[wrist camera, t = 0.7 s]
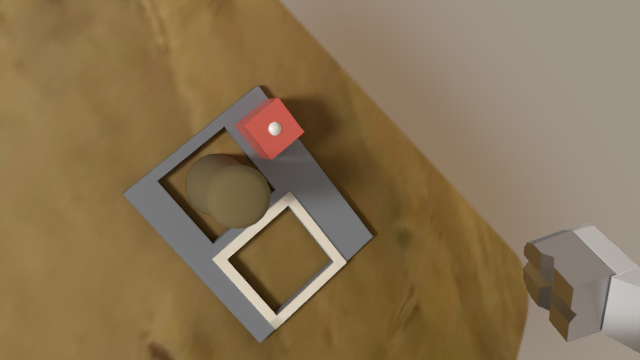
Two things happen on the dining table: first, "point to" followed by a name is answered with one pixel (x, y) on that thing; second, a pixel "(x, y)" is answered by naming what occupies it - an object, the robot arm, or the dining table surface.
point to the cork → (228, 191)
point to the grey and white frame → (288, 190)
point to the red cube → (269, 128)
